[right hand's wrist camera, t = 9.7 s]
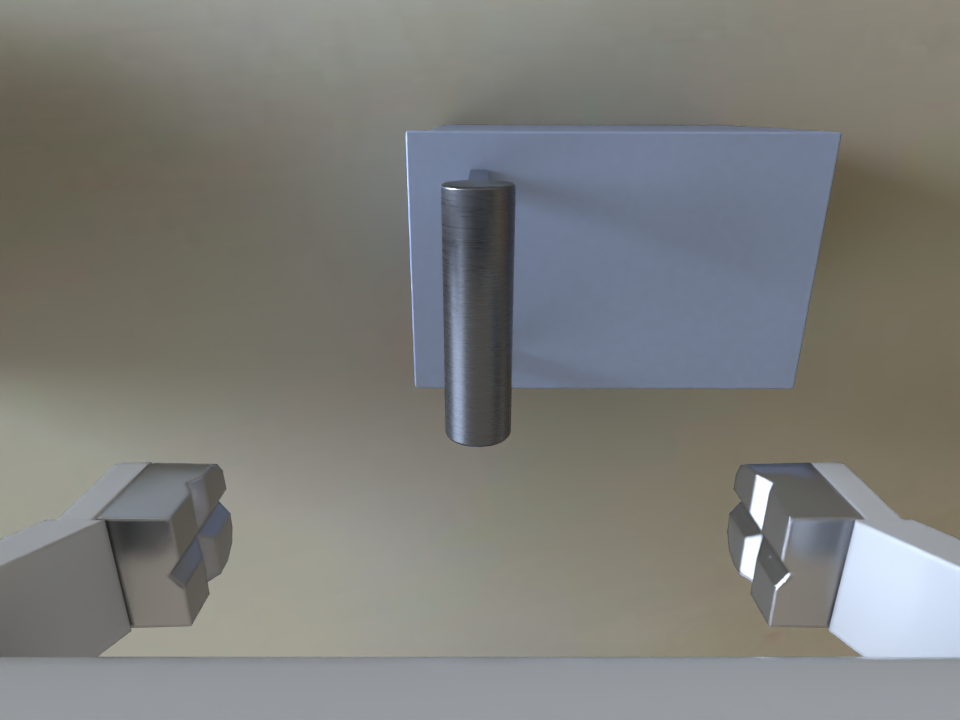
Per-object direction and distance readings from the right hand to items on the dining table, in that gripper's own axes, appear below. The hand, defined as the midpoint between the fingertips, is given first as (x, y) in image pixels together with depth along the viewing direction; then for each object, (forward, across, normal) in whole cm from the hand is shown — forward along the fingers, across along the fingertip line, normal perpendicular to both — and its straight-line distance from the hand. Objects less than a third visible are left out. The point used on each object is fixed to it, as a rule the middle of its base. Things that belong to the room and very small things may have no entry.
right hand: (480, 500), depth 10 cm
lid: (+17, +5, 0) cm, 18 cm away
